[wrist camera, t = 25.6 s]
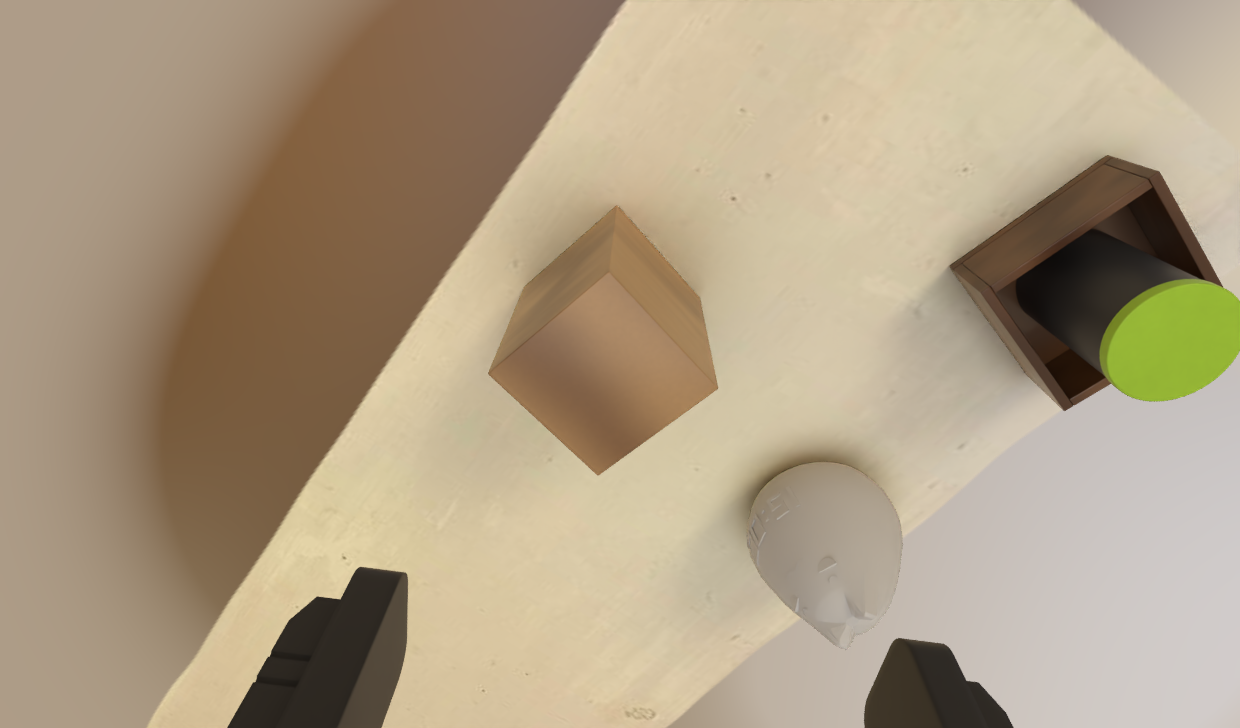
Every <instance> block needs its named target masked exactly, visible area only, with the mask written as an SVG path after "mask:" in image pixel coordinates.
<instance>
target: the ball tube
mask: <svg viewBox="0 0 1240 728" xmlns="http://www.w3.org/2000/svg"><path fill="white" fill-rule="evenodd" d="M1016 294H1017V299H1018V302H1019V304H1020V306H1021V308H1022V309H1023V310H1024V312H1025V313H1026V314H1028V315H1029V316H1030V317H1031V318H1032V319H1034V320H1035V321H1036V322H1037V323H1039V324H1040V325H1041V326H1042V327H1044V328H1045V329H1046V330H1048V331H1049V332H1050V333H1051V334H1053V335H1054V336H1055V337H1056V338H1058V339H1059V340H1060V341H1061V342H1063V343H1064V344H1065V345H1066V346H1068V347H1069V348H1070V349H1071V350H1073V351H1074V352H1075V353H1076V354H1078V355H1079V356H1080V357H1081V358H1083V359H1084V360H1085V361H1087V362H1088V363H1089V364H1090V365H1092V366H1093V367H1094V368H1095V369H1097V370H1098V371H1099V372H1100V373H1102V374H1103V375H1104V376H1105V377H1106V378H1107V379H1108V381H1109V382H1110V383H1111V384H1112V385H1113V386H1115V387H1116V388H1117V389H1118V390H1120V391H1121V392H1122V393H1124V394H1126V395H1127V396H1130V397H1132V398H1135V399H1139V400H1143V401H1168V400H1173V399H1177V398H1180V397H1184V396H1186V395H1189V394H1191V393H1194V392H1196V391H1198V390H1199V389H1202V388H1203V387H1205V386H1206V385H1208V384H1209V383H1211V382H1212V381H1214V380H1215V379H1216V378H1218V377H1219V376H1220V375H1221V374H1222V373H1223V372H1224V371H1225V370H1226V369H1227V368H1228V367H1229V365H1230V364H1231V363H1232V362H1233V361H1234V359H1235V358H1236V356H1237V355H1238V353H1239V351H1240V301H1239V300H1238V298H1237V297H1236V296H1235V295H1234V294H1233V293H1231V292H1230V291H1228V290H1227V289H1225V288H1223V287H1221V286H1219V285H1216V284H1214V283H1212V282H1209V281H1205V280H1201V279H1199V278H1197V277H1195V276H1193V275H1191V274H1189V273H1187V272H1184V271H1182V270H1180V269H1178V268H1176V267H1174V266H1172V265H1170V264H1168V263H1166V262H1164V261H1162V260H1160V259H1158V258H1156V257H1154V256H1152V255H1149V254H1147V253H1145V252H1143V251H1141V250H1139V249H1137V248H1135V247H1133V246H1131V245H1129V244H1127V243H1125V242H1123V241H1121V240H1119V239H1117V238H1114V237H1112V236H1110V235H1108V234H1106V233H1104V232H1102V231H1100V230H1096V229H1090V230H1089V231H1087V232H1086V233H1084V234H1083V235H1081V236H1080V237H1078V238H1077V239H1075V240H1074V241H1072V242H1071V243H1069V244H1068V245H1066V246H1065V247H1063V248H1062V249H1060V250H1059V251H1057V252H1056V253H1055V254H1053V255H1052V256H1050V257H1049V258H1047V259H1046V260H1044V261H1043V262H1041V263H1040V264H1038V265H1037V266H1035V267H1034V268H1032V269H1031V270H1029V271H1028V272H1026V273H1025V274H1023V275H1022V276H1020V277H1019V278H1017V282H1016Z"/></svg>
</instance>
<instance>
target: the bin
mask: <svg viewBox="0 0 1240 728" xmlns="http://www.w3.org/2000/svg"><path fill="white" fill-rule="evenodd" d="M1090 229H1096V230H1100V231H1102V232H1104V233H1106V234H1108V235H1110V236H1112V237H1114V238H1117V239H1119V240H1121V241H1123V242H1125V243H1127V244H1129V245H1131V246H1133V247H1135V248H1137V249H1139V250H1141V251H1143V252H1145V253H1147V254H1149V255H1152V256H1154V257H1156V258H1158V259H1160V260H1162V261H1164V262H1166V263H1168V264H1170V265H1172V266H1174V267H1176V268H1178V269H1180V270H1182V271H1184V272H1187V273H1189V274H1191V275H1193V276H1195V277H1197V278H1199V279H1201V280H1205V281H1209V282H1212V283H1214V284H1216V285H1219V286H1221V287H1223V286H1222V284H1221V282H1220V280H1219V279H1218V277H1217V275H1216V273H1215V271H1214V269H1213V268H1212V266H1211V264H1210V262H1209V260H1208V259H1207V257H1206V255H1205V253H1204V251H1203V250H1202V248H1201V246H1200V244H1199V242H1198V241H1197V239H1196V237H1195V235H1194V233H1193V231H1192V230H1191V228H1190V226H1189V224H1188V222H1187V221H1186V219H1185V217H1184V215H1183V213H1182V212H1181V210H1180V208H1179V206H1178V204H1177V203H1176V201H1175V199H1174V197H1173V195H1172V193H1171V192H1170V190H1169V188H1168V186H1167V184H1166V183H1165V181H1164V179H1163V177H1162V175H1161V174H1160V172H1159V171H1156V170H1153V169H1150V168H1146V167H1143V166H1140V165H1137V164H1134V163H1131V162H1127V161H1124V160H1121V159H1118V158H1115V157H1112V156H1109V155H1107V156H1106V157H1104V158H1103V159H1101V160H1100V161H1099V162H1097V163H1096V164H1094V165H1093V166H1091V167H1090V168H1089V169H1087V170H1086V171H1084V172H1083V173H1082V174H1080V175H1079V176H1077V177H1076V178H1074V179H1073V180H1072V181H1070V182H1069V183H1067V184H1066V185H1064V186H1063V187H1062V188H1060V189H1059V190H1057V191H1056V192H1054V193H1053V194H1052V195H1050V196H1049V197H1047V198H1046V199H1045V200H1043V201H1042V202H1040V203H1039V204H1037V205H1036V206H1035V207H1033V208H1032V209H1030V210H1029V211H1027V212H1026V213H1025V214H1023V215H1022V216H1020V217H1019V218H1017V219H1016V220H1015V221H1013V222H1012V223H1010V224H1009V225H1008V226H1006V227H1005V228H1003V229H1002V230H1000V231H999V232H998V233H996V234H995V235H993V236H992V237H990V238H989V239H988V240H986V241H985V242H983V243H982V244H981V245H979V246H978V247H976V248H975V249H973V250H972V251H971V252H969V253H968V254H966V255H965V256H963V257H962V258H961V259H959V260H958V261H956V262H955V263H953V264H952V265H951V266H950V269H951V270H952V271H953V273H954V274H955V276H956V277H957V278H958V280H959V281H960V282H961V284H962V285H963V287H964V288H965V289H966V291H967V292H968V294H969V295H970V296H971V298H972V299H973V301H974V302H975V303H976V305H977V306H978V308H979V309H980V310H981V312H982V313H983V315H984V316H985V317H986V319H987V320H988V322H989V323H990V324H991V326H992V327H993V329H994V330H995V331H996V333H997V334H998V335H999V337H1000V338H1001V340H1002V341H1003V342H1004V344H1005V345H1006V347H1007V348H1008V349H1009V351H1010V352H1011V354H1012V355H1013V356H1014V358H1015V359H1016V361H1017V362H1018V363H1019V365H1020V366H1021V368H1022V369H1023V370H1024V372H1025V373H1026V375H1027V376H1028V377H1029V378H1030V379H1031V380H1032V381H1033V382H1034V383H1035V384H1036V385H1037V386H1038V387H1039V388H1041V389H1042V390H1043V391H1044V392H1045V393H1046V394H1047V395H1048V396H1049V397H1050V398H1051V399H1052V400H1053V401H1054V402H1055V403H1056V404H1057V405H1058V406H1059V407H1060V408H1062V409H1063V410H1064V411H1066V410H1067V409H1069V408H1071V407H1072V406H1073V405H1076V404H1078V403H1079V402H1081V401H1082V400H1084V399H1086V398H1088V397H1089V396H1091V395H1093V394H1094V393H1096V392H1098V391H1099V390H1101V389H1103V388H1104V387H1106V386H1108V385H1109V384H1111V383H1110V382H1109V381H1108V379H1107V378H1106V377H1105V376H1104V375H1103V374H1102V373H1100V372H1099V371H1098V370H1097V369H1095V368H1094V367H1093V366H1092V365H1090V364H1089V363H1088V362H1087V361H1085V360H1084V359H1083V358H1081V357H1080V356H1079V355H1078V354H1076V353H1075V352H1074V351H1073V350H1071V349H1070V348H1069V347H1068V346H1066V345H1065V344H1064V343H1063V342H1061V341H1060V340H1059V339H1058V338H1056V337H1055V336H1054V335H1053V334H1051V333H1050V332H1049V331H1048V330H1046V329H1045V328H1044V327H1042V326H1041V325H1040V324H1039V323H1037V322H1036V321H1035V320H1034V319H1032V318H1031V317H1030V316H1029V315H1028V314H1026V313H1025V312H1024V310H1023V309H1022V308H1021V306H1020V304H1019V302H1018V299H1017V294H1016V282H1017V278H1019V277H1020V276H1022V275H1023V274H1025V273H1026V272H1028V271H1029V270H1031V269H1032V268H1034V267H1035V266H1037V265H1038V264H1040V263H1041V262H1043V261H1044V260H1046V259H1047V258H1049V257H1050V256H1052V255H1053V254H1055V253H1056V252H1057V251H1059V250H1060V249H1062V248H1063V247H1065V246H1066V245H1068V244H1069V243H1071V242H1072V241H1074V240H1075V239H1077V238H1078V237H1080V236H1081V235H1083V234H1084V233H1086V232H1087V231H1089V230H1090Z"/></svg>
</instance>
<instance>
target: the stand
mask: <svg viewBox="0 0 1240 728" xmlns="http://www.w3.org/2000/svg"><path fill="white" fill-rule="evenodd" d="M488 374H489V375H490V376H491V377H492V378H493V379H494V380H495V381H496V382H497V383H499V384H500V385H501V386H502V387H503V388H504V389H505V390H506V391H507V392H508V393H509V394H510V395H511V396H513V397H514V398H515V399H516V400H517V401H518V402H519V403H520V404H521V405H522V406H523V407H524V408H525V409H527V410H528V411H529V412H530V413H531V414H532V415H533V416H534V417H535V418H536V419H537V420H538V421H540V422H541V423H542V424H543V425H544V426H545V427H546V428H547V429H548V430H549V431H550V432H551V433H552V434H554V435H555V436H556V437H557V438H558V439H559V440H560V441H561V442H562V443H563V444H564V445H565V446H566V447H568V448H569V449H570V450H571V451H572V452H573V453H574V454H575V455H576V456H577V457H578V458H579V459H581V460H582V461H583V462H584V463H585V464H586V465H587V466H588V467H589V468H590V469H591V470H592V471H593V472H595V473H596V474H597V475H600V474H601V473H602V472H604V471H605V470H607V469H608V468H609V467H611V466H612V465H613V464H615V463H616V462H618V461H619V460H620V459H622V458H623V457H624V456H626V455H627V454H629V453H630V452H631V451H633V450H634V449H635V448H637V447H638V446H640V445H641V444H642V443H644V442H645V441H646V440H648V439H649V438H651V437H652V436H653V435H655V434H656V433H658V432H659V431H660V430H662V429H663V428H664V427H666V426H667V425H669V424H670V423H671V422H673V421H674V420H675V419H677V418H678V417H680V416H681V415H682V414H684V413H685V412H686V411H688V410H689V409H691V408H692V407H693V406H695V405H696V404H697V403H699V402H700V401H702V400H703V399H704V398H706V397H707V396H709V395H710V394H711V393H713V392H714V391H715V390H717V389H718V385H717V380H716V375H715V370H714V365H713V360H712V355H711V350H710V345H709V340H708V336H707V331H706V326H705V321H704V316H703V311H702V306H701V301H700V298H699V297H698V296H697V294H696V293H695V292H694V291H693V290H692V289H691V288H690V287H689V285H688V284H687V283H686V282H685V281H684V280H683V279H682V278H681V276H680V275H679V274H678V273H677V272H676V271H675V270H674V269H673V267H672V266H671V265H670V264H669V263H668V262H667V261H666V260H665V258H664V257H663V256H662V255H661V254H660V253H659V252H658V251H657V249H656V248H655V247H654V246H653V245H652V244H651V243H650V242H649V241H648V239H647V238H646V237H645V236H644V235H643V234H642V233H641V232H640V230H639V229H638V228H637V227H636V226H635V225H634V224H633V223H632V221H631V220H630V219H629V218H628V217H627V216H626V215H625V214H624V212H623V211H622V210H621V209H620V208H619V207H618V206H616V207H615V208H613V209H612V210H611V211H610V212H609V213H608V214H607V215H605V216H604V217H603V218H602V219H601V220H600V221H599V222H598V223H596V224H595V225H594V226H593V227H592V228H591V229H590V230H588V231H587V232H586V233H585V234H584V235H583V236H582V237H580V238H579V239H578V240H577V241H576V242H575V243H574V244H572V245H571V246H570V247H569V248H568V249H567V250H566V251H565V252H563V253H562V254H561V255H560V256H559V257H558V258H557V259H555V260H554V261H553V262H552V263H551V264H550V265H549V266H547V267H546V268H545V269H544V270H543V271H542V272H541V273H540V274H538V275H537V276H536V277H535V278H534V279H533V280H532V281H530V282H529V283H528V284H527V285H526V286H525V287H524V289H523V291H522V294H521V296H520V298H519V301H518V303H517V305H516V308H515V310H514V313H513V315H512V317H511V320H510V322H509V325H508V327H507V329H506V332H505V334H504V337H503V339H502V341H501V344H500V346H499V348H498V351H497V353H496V356H495V358H494V360H493V363H492V365H491V368H490V370H489V372H488Z"/></svg>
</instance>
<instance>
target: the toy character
mask: <svg viewBox="0 0 1240 728" xmlns="http://www.w3.org/2000/svg"><path fill="white" fill-rule="evenodd" d="M747 537H748V541H747V544H748V548H749V550H750V555H751V558H752V560H753V562H754V564H755V566H756V568H757V570H758V572H759V574H760V575H761V577H762V579H763V580H764V581H765V582H766V583H767V585H768V586H769V587H770V588H771V589H772V590H773V591H774V593H775V594H776V595H777V596H778V597H779V598H780V599H781V600H782V601H783V602H784V604H785V605H786V606H788V607H789V608H790V609H791V610H792V611H793V612H795V613H796V614H797V615H798V616H799V617H801V618H802V619H803V620H805V621H806V622H807V623H809V624H810V625H811V626H812V627H814V628H815V629H816V630H817V631H818V632H820V633H821V634H822V635H823V636H824V637H826V638H827V639H828V640H829V641H830V642H832V643H833V644H834V645H835V646H837V647H839V648H842V649H845V650H847V649H848V648H849V647H850V645H851V643H852V642H853V639H854V637H855V636H856V635H860V634H863V633H865V632H867V631H869V630H870V629H872V628H873V627H874V626H876V625H877V624H878V623H879V621H880V620H881V619H882V617H883V616H884V614H885V613H886V611H887V610H888V608H889V606H890V604H891V602H892V599H893V596H894V593H895V589H896V585H897V582H898V577H899V572H900V564H901V555H902V546H903V545H902V544H903V543H902V532H901V525H900V520H899V517H898V514H897V512H896V509H895V508H894V506H893V504H892V502H891V501H890V499H889V498H888V496H887V495H886V493H885V492H884V490H883V489H882V488H881V487H880V486H879V485H877V484H876V483H875V482H874V481H873V480H872V479H870V478H869V477H868V476H866V475H865V474H864V473H862V472H860V471H858V470H857V469H855V468H853V467H850V466H847V465H844V464H839V463H833V462H813V463H807V464H802V465H799V466H796V467H793V468H790V469H788V470H786V471H784V472H782V473H780V474H779V475H777V476H776V477H774V478H773V479H772V480H771V481H769V482H768V483H767V484H766V485H765V486H764V487H763V489H762V490H761V491H760V492H759V494H758V495H757V497H756V499H755V501H754V503H753V506H752V509H751V513H750V516H749V520H748V527H747Z"/></svg>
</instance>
